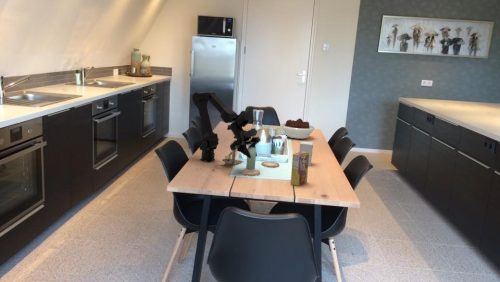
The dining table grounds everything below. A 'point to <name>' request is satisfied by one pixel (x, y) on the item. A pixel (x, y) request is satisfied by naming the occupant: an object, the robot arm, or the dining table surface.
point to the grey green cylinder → (251, 161)
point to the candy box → (299, 168)
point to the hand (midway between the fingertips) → (253, 156)
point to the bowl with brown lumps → (297, 129)
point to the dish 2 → (270, 164)
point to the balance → (231, 161)
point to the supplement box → (307, 149)
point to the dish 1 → (250, 172)
